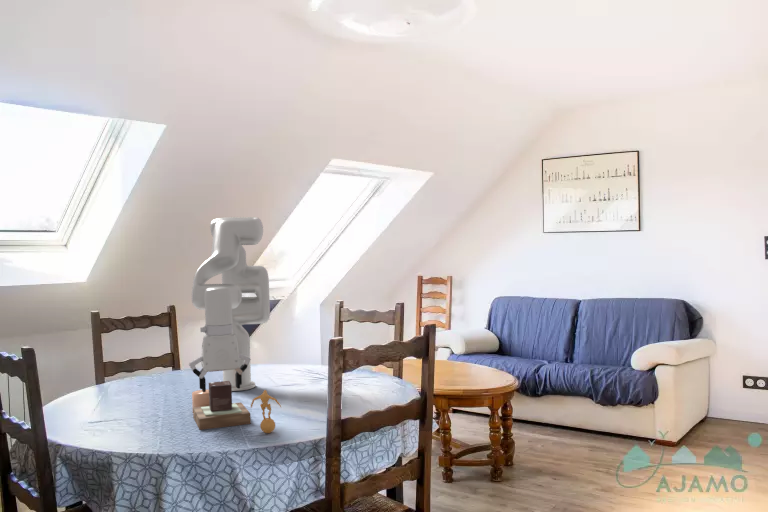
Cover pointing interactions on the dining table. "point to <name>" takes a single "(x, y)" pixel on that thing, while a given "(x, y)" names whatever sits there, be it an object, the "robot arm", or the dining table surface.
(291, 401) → the dining table surface
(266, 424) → the figurine
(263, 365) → the dining table surface
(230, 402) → the box
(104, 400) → the dining table surface
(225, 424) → the stand
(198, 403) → the peach rounded block
